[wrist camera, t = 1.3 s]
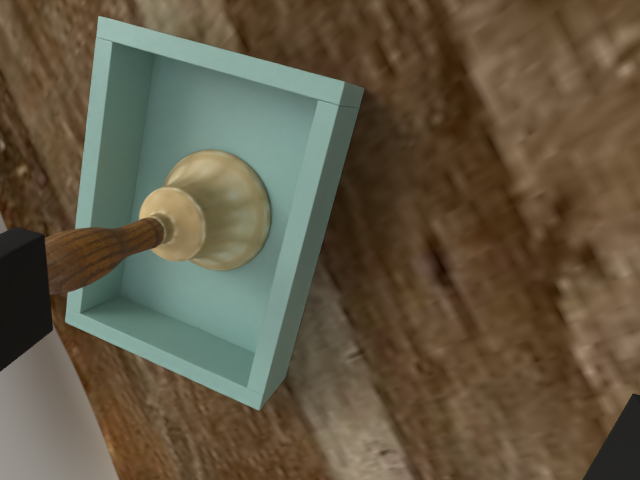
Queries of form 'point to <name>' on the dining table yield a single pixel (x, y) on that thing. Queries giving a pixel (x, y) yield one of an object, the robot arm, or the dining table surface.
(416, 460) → the dining table surface
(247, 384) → the open box
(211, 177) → the hand bell
